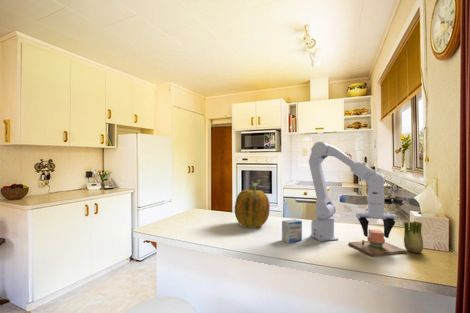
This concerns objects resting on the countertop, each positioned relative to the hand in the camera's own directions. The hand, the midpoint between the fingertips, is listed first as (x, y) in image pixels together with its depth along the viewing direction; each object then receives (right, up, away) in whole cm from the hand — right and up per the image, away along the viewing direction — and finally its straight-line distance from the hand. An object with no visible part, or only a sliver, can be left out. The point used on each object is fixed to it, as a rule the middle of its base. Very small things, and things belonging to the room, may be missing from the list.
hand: (375, 236), depth 92 cm
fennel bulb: (+13, -5, -3) cm, 14 cm away
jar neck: (0, -5, 0) cm, 5 cm away
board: (0, -5, 0) cm, 5 cm away
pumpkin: (-48, -5, +30) cm, 57 cm away
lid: (0, -2, 0) cm, 2 cm away
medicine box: (-32, -5, +9) cm, 33 cm away
